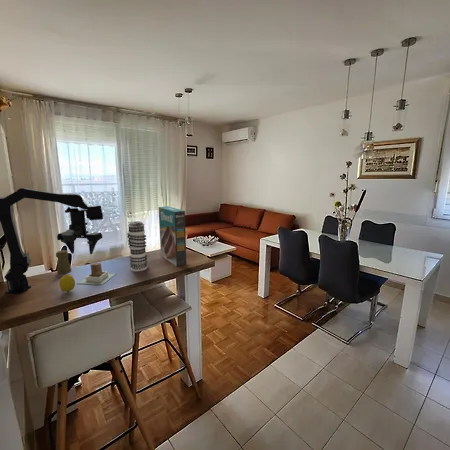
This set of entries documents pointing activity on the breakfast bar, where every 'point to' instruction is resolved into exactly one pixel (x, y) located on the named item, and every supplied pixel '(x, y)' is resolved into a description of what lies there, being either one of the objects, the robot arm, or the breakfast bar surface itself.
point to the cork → (63, 262)
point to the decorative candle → (137, 246)
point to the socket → (97, 279)
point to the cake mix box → (172, 235)
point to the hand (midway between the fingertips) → (82, 253)
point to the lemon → (67, 283)
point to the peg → (96, 269)
